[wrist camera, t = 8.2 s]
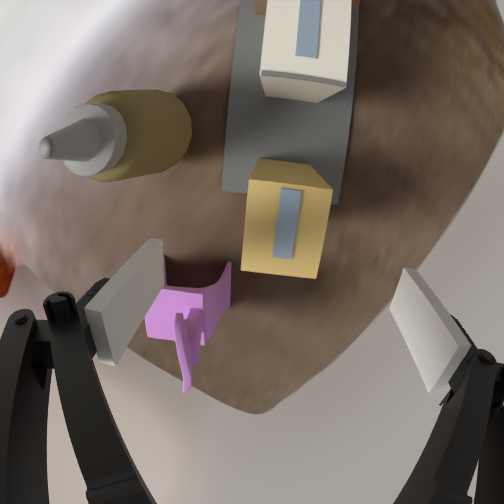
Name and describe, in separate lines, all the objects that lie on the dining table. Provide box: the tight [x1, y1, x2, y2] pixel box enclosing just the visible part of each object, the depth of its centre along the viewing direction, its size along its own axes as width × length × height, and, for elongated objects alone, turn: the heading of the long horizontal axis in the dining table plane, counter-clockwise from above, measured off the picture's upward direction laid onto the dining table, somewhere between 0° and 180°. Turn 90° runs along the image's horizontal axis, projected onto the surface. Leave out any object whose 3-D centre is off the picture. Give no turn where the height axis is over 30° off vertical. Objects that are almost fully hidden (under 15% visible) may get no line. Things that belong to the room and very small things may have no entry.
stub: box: [241, 158, 333, 279], centre depth 24 cm, size 6×5×12 cm
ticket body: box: [253, 0, 360, 103], centre depth 16 cm, size 12×8×16 cm
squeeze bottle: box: [39, 90, 192, 182], centre depth 20 cm, size 8×8×18 cm
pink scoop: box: [145, 255, 232, 393], centre depth 28 cm, size 8×9×15 cm
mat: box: [221, 0, 359, 205], centre depth 25 cm, size 24×12×1 cm, turn 175°
